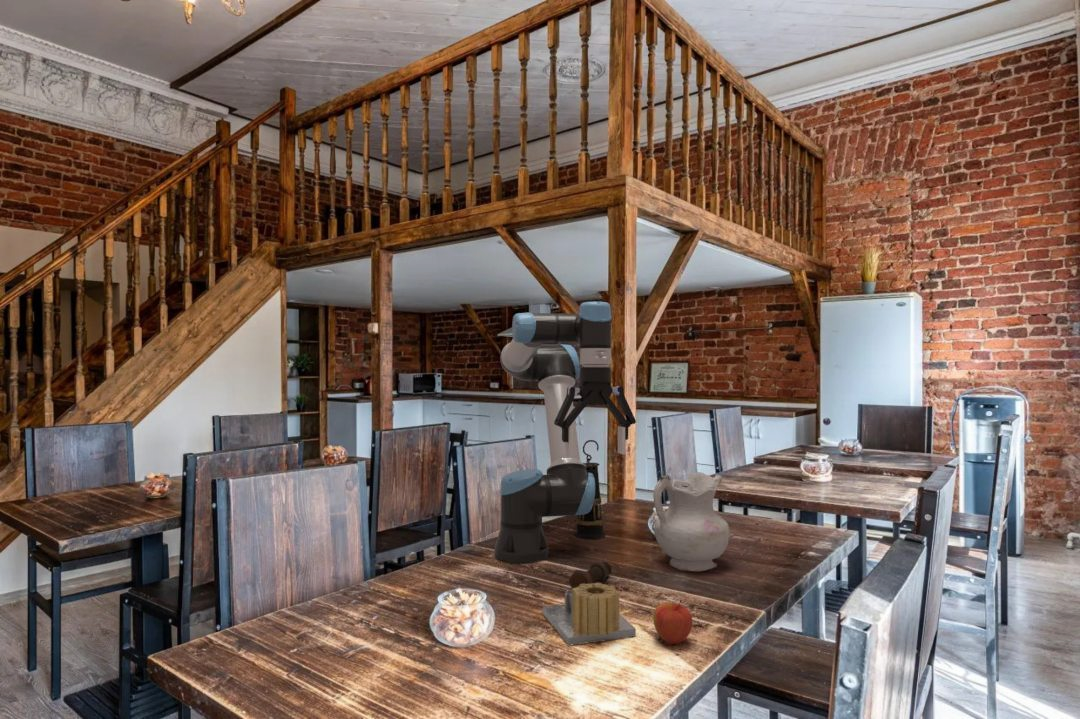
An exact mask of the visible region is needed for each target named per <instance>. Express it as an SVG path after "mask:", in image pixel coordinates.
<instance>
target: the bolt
mask: <svg viewBox="0 0 1080 719" xmlns="http://www.w3.org/2000/svg"><path fill="white" fill-rule="evenodd" d="M612 568H613V567H612V566H611V565H610V564H609V563H608V562H605V561H603V562H600V561H596V562H595V561H594V562H593V563H592V564H591V566H590V568H589V569H588V570H585V571H584V570H581V569H575V570H574V571H573V572H572V574H571V575H570V577H569V581H568V583H569V585H570V587H571V589H572V588H577V587H578V586H580V584H583V583H585V584H592V583H597V582H598V581H600V582H599V583H604V582H605V581H606V580H607V579H608V576H609V575H610V574H611V573H612ZM604 580H605V581H604Z"/></svg>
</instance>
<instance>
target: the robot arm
mask: <svg viewBox="0 0 1080 719" xmlns="http://www.w3.org/2000/svg"><path fill="white" fill-rule="evenodd" d="M612 317H613V316H612V310H611V305H610V303H608V302H605V301H586V302H585V301H584V302H582V303H580V305H579V313H548V312H546V313H545V312H543V313H542V312H529V311H528V312H521V313H520V312H518V313H515V314H514V315H513V317H512V322H511V323H512V324H511V326H512V327H511V332H512V334H511V336H512V340H511V342H509V343H507V344H505V346H504V347H503V348H502V351H501V353H500V356H499V360H500V364H501V365H500V366H501V367H502V369H503V370H504V371H505V372H506V374H508V375H509V376H511V377H512V378H515V379H517V380H519V381H520V380H521V381H526V382H537V386H538V389H540V390H541V392H543V396H544V397H543V398H544V399H543V400H544V408H545V409H544V410H545V418H546V427H547V438H548V446H549V458H550V465H549V466H548V467H547V468H546V474H543V471H542V470H541V469H538V468H537V469H536V468H535V469H534V468H533V469H530V468H529V469H521V470H515V471H512V472H509V473H507V474H504V476H503V477H502V478H501V480H500V481H501V482H500V490H499V493H500V494H499V495H500V528H499V532H498V535H497V538H496V542H495V545H494V551H493V552H494V557H495V558H496V559H497V560H500V561H502V562H507V563H515V564H525V563H526V564H528V563H535V562H540V561H543V560H545V559H546V558H548V556H549V544H548V542H547V540H546V536H545V533H544V530H543V518H545V517H547V518H548V517H565V516H566V517H567V516H568V517H569V516H573V517H576V516H578V515H579V516H581V515H584V514H587V513H589V512H590V511H591V509H592V506H593V503H594V497H595V479H594V475H593V474H592V473H587V470H586V465H585V464H583V463H584V462H582V461H581V458H580V448H579V442H578V433H577V432H578V431H577V426H576V425H577V424H576V419H577V418H578V417H579V415H580V414H581V413H582V412H583V410H584V409H585V408H586V407H587V406H597V405H598V406H603V405H604V406H605V407H606V409H608V411H609V412H610V413H611V415H612V416H613V417H614V418H615V419H616V421H617V422H618V423H619V426H617V454H620V455H626V441H627V440H628V439H629V428H630V427H631V425H634V424H636V422H637V420H636V418H635V416H634V414H633V412H632V409H631V407H630V405H629V403H628V401H627V399H626V396H625V389H624V387H623V386H622V385H621V386H620V385H616V386H614V387H612V384H611V383H612V368H611V367H609V366H610V365H611V364H612ZM570 344H578V345H579V356H578V353H577V351H576V349H575V348H574V346H572V345H570ZM580 366H582V367H580ZM577 380H579V386H578V387H575V385H576V381H577ZM612 393H613V395H614V396H615V398H616V400H617V403H618V405H619V406H620V409H621V410H622V412H621V411H620V410H619V409H618V407H617V406H616V405H615V403H614V400H612V399H611V396H612ZM578 394H579V396H580V398H579V400H578V401H577V403H576V405H575V406H574V400H575V397H576V396H577V395H578Z"/></svg>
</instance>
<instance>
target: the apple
mask: <svg viewBox="0 0 1080 719" xmlns="http://www.w3.org/2000/svg"><path fill="white" fill-rule="evenodd" d="M681 603H682V600H681V599H680V600H679V603H676V602H664V603H660V604H659V605H657V606H656V607H655V609H654V612H653V617H652V618H653V625H654V628H655V632H656V633H657V634H658V636H659V637H660V638H661V639H662V640H664V641H665V642H667V643H668V644H670V645H672V644H675V645H677V644H678V645H679V644H680V643H682V642H683V641H685V640H686V639H687V638H688V637H689V635H690V633H691V630H692V627H693V616H692V613H691V610H689V609H688V608H687V607H685V606H684V605H682V604H681Z"/></svg>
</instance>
